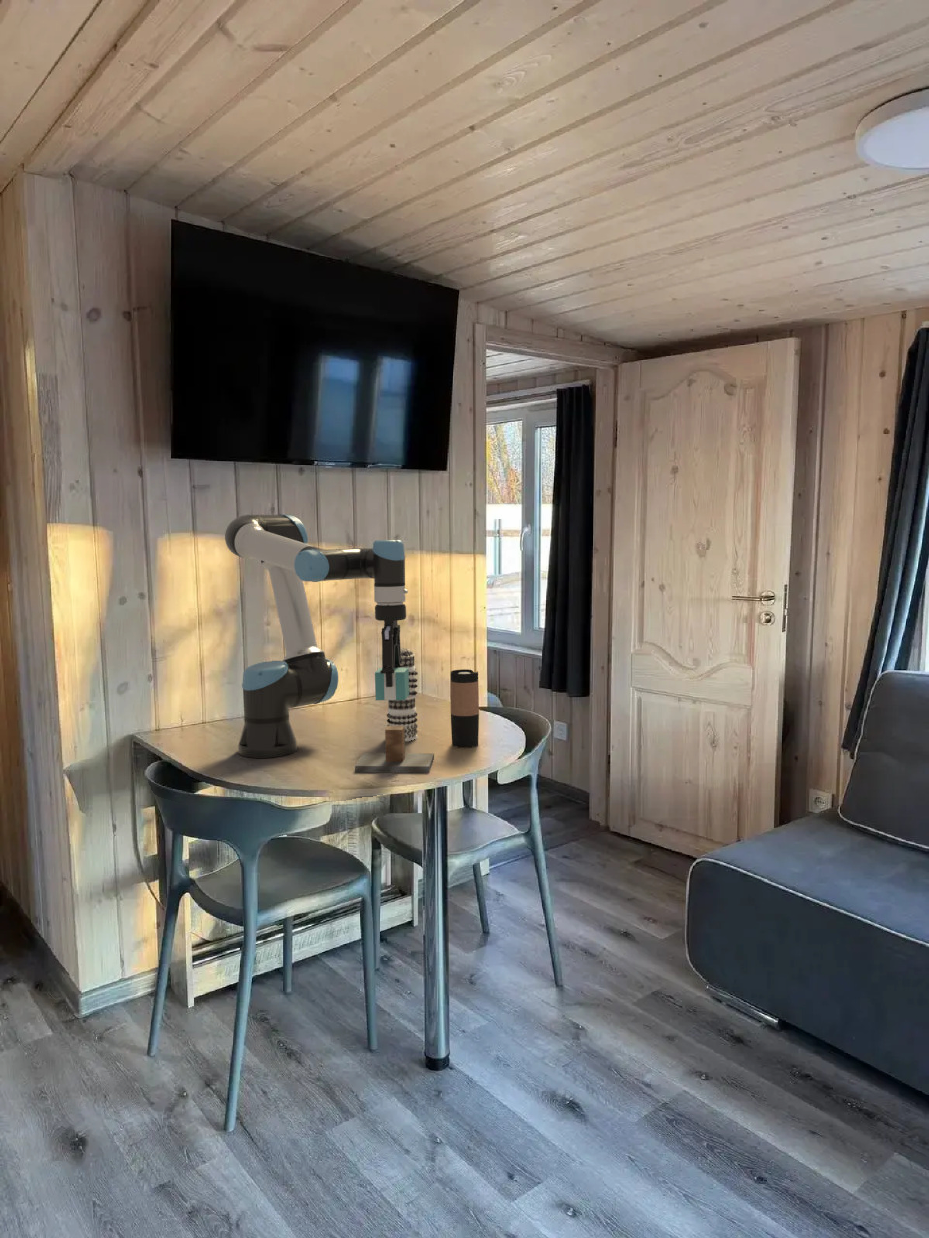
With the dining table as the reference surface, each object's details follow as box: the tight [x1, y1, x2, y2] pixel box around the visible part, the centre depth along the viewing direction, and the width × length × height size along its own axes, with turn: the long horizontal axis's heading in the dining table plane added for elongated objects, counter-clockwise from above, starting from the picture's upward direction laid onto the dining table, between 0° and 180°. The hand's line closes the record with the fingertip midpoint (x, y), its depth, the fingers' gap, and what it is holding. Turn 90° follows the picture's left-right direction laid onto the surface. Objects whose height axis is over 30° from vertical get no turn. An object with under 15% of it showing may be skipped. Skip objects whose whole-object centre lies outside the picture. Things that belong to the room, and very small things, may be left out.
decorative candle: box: [386, 648, 419, 742], centre depth 240 cm, size 9×9×25 cm
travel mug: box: [450, 668, 480, 748], centre depth 232 cm, size 8×8×20 cm
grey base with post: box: [354, 725, 435, 774], centre depth 213 cm, size 18×12×10 cm, turn 87°
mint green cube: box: [374, 667, 409, 701], centre depth 211 cm, size 7×7×7 cm
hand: (392, 696), depth 211 cm, fingers closed on mint green cube, 7 cm apart
